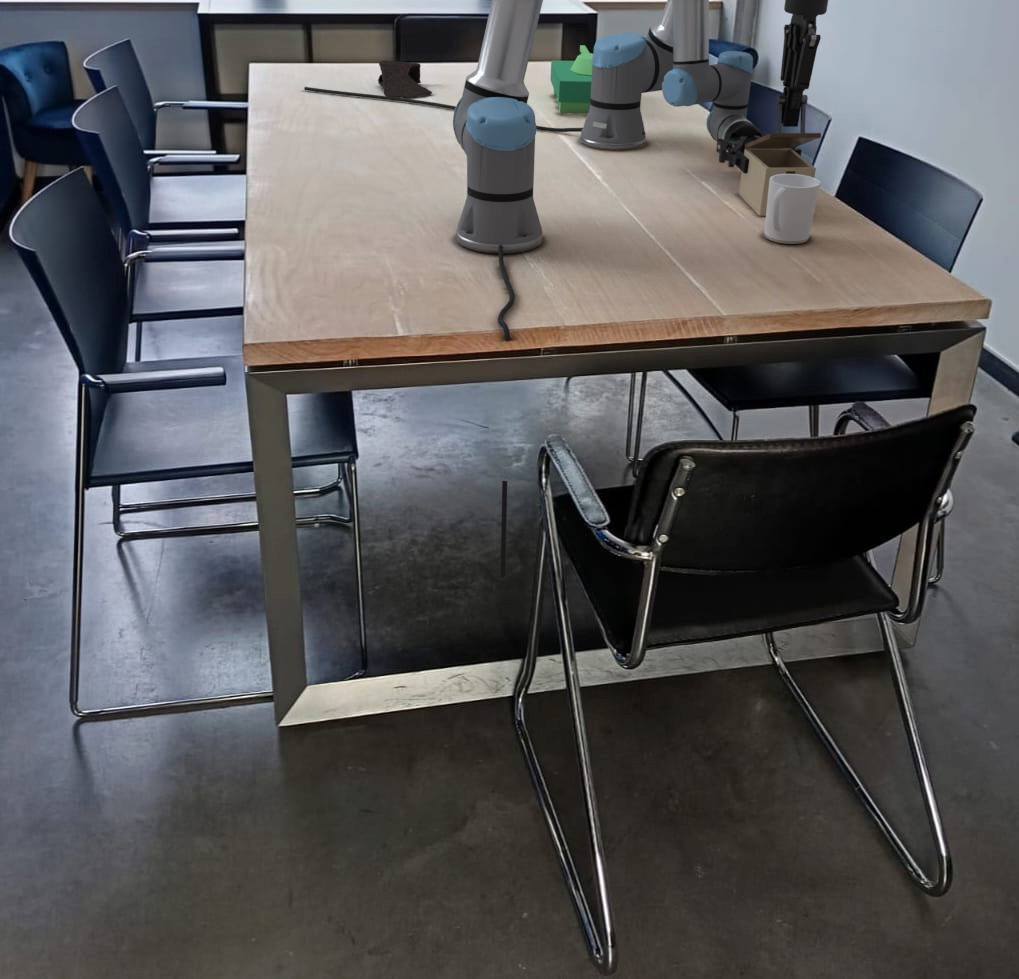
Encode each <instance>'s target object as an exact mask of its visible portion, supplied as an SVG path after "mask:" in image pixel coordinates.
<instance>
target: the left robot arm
mask: <svg viewBox="0 0 1019 979" xmlns="http://www.w3.org/2000/svg"><path fill="white" fill-rule="evenodd" d="M543 3H544V0H491V3H490V8H489V12H488V17H487V22H486V27H485V31H484V34H483V35H484V36H483V39H482V44H481V50H480V54H479V58H478V62H477V67H476V69H475V70H474V71H473V72H471V73H470V74H468V75H467V76H466V78H465V82H464V86H463V91H462V96H461V98H460V99H459V100H458V102H457V103H456V108H455V110H454V112H453V116H452V129H453V133H454V136H455V140H456V141H457V143H458V144H459V146H460V148H461V149H462V150H463V152H464V154H465V155H466V192H467V193H466V198H465V202H464V205H463V209H462V211H461V214H460V218H459V220H458V224H457V227H456V241H457V243H458V244H459V245H461V246H462V247H464V248H466V249H468V250H470V251H475V252H479V253H486V254H497V255H498V263H499V269H500V271H501V275H502V277H503V278H502V279H503V282H504V284H505V286H506V288H507V290H508V293H509V299H508V301H507V303H506V304H505V306H504V307H503V308H502V309H501V310H500V311H499V313H498V316H497V322H498V325H500V327H501V328H502V330H503V335H504V341H505V342H510V341H511V334H510V329H509V326H508V324H507V322H505V321H504V317H505V315H506V313H507V312H508V311H509V310H510V309H511V308H512V306H513V305H514V302H515V298H516V296H515V290H514V288H513V285H512V284H511V282H510V278H509V276H508V273H507V270H506V266H505V262H504V255H506V254H507V255H508V254H517V253H524V252H527V251H530V250H533V249H536V248H538V247H539V246H540V245H541V244H542V243H543V229H542V224H541V221H540V220H541V219H540V218H539V214H538V213H539V212H538V210H537V206H536V204H535V199H534V184H535V181H534V180H535V157H536V156H535V154H536V152H535V151H536V135H537V128H536V126H537V123H536V114H535V111H534V109H533V108H532V106H530V105H529V104H528V101H529V97H530V92H529V90H528V87H527V86H526V84H525V76H526V74H527V70H528V69H527V68H528V64H529V61H530V57H531V52H532V48H533V44H534V39H535V35H536V31H537V27H538V24H539V18H540V14H541V11H542V10H541V9H542V7H543ZM828 4H829V0H784V7H783V10H784V12H785V13H787V14H791V18H790V23H789V24H784V25H783V47H782V58H781V69H780V77H779V78H780V81H781V82H782V86H783V90H782V95H787V100H786V105H782V127H783V128H784V127H785V128H787V127H788V128H789V127H790V128H794V127H795V128H798V127H799V121H800V116H801V102H802V96H803V95H804V91H805V90H809V88H810V84H811V81H812V80H811V79H812V75H813V70H814V65H815V60H816V57H817V51H818V47H819V45H820V42H821V39H822V37H821V34H817V30H818V29H817V28H818V27H817V17H818V16H821V15H826V13H827V11H828ZM507 513H508V480H502V481H501V522H500V523H501V526H500V528H501V529H500V530H501V531H500V532H501V533H500V577H499V578H502V579H504V578H506V562H507V560H506V559H507V557H506V556H507V554H506V553H507V518H508V516H507Z"/></svg>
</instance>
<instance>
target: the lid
mask: <svg viewBox="0 0 1019 979" xmlns="http://www.w3.org/2000/svg"><path fill="white" fill-rule="evenodd" d="M808 98H809V97H808V95H807V94H803V96H802V102H801V109H800V127H799V128H800V130H799V132H782V127H783V124H782V105H786V100H787V95H783V94H777V95H776V96H775V104H776V113H777V114H776V132H770V133H768V134H765V135H764V136H763V135H762V137H761V138H759V139H757V140H754V141H752V142H750V143H748V144H745V149H792V148H795V147H797V148H798V147H799V146H802V145H804V144H808V143H810V142H813V141H815V140H818V139H820V138H822V133H821V132H806V112H807V111H806V110H807V109H806V106H807V104H808V101H809V100H808Z"/></svg>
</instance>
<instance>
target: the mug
mask: <svg viewBox="0 0 1019 979" xmlns="http://www.w3.org/2000/svg"><path fill="white" fill-rule="evenodd" d="M821 183H822V182H821V180H820V179H818V178H815V177H814V178H813V177H810V176H806V175H799V174H778V175H774V176H772V177H770V180H769V189H768V199H767V210H766V216H765V221H764V231H763V235H764V237H765V238H766V239H767V240H769V241H771V242H775V243H777V244H778V243H779V244H785V245H798V244H799V245H800V244H804V243H806V242H807V241H809V238H810V234H811V229H812V224H813V219H814V216H815V210H816V206H817V202H818V197H819V193H820V187H821Z"/></svg>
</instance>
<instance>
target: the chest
mask: <svg viewBox="0 0 1019 979" xmlns="http://www.w3.org/2000/svg"><path fill="white" fill-rule="evenodd" d="M744 155H745V156H746V157H747V158H748V159H749V165H748V173H743V172H742V171H741V174H740V180H739V190H738V195H739V197H740V198H742V199H743V200H744V202H746V204H747V205H748V206H749V207H750V208H751V209H752V210H753V211H754V212H755V213H756V214H757V215H758V216H759V217H766V210H767V199H768V189H769V180H770V177H772V176H774V175H778V174H799V175H806V176H810V177H813V178H815V177H816V172H817V171H816V170H817V167H815V166H814V165H813V164H811V163H810V162H809V161H807V159H805V158H804V157H803V156H802V155H801V156H800V155H799V154H797V153H796V152H795V151H794V150H793V149H745V151H744Z"/></svg>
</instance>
